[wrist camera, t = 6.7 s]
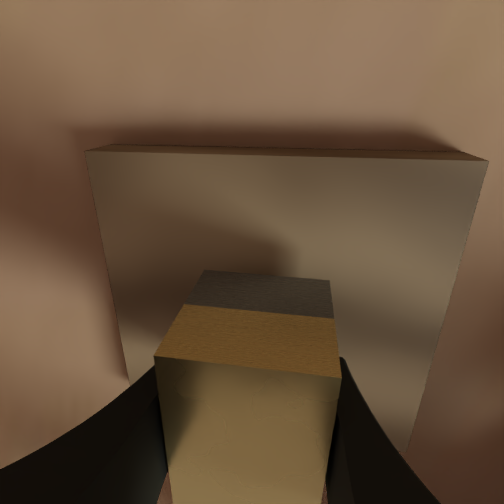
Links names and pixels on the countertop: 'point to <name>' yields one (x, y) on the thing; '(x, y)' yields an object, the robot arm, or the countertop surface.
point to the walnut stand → (294, 245)
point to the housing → (249, 390)
